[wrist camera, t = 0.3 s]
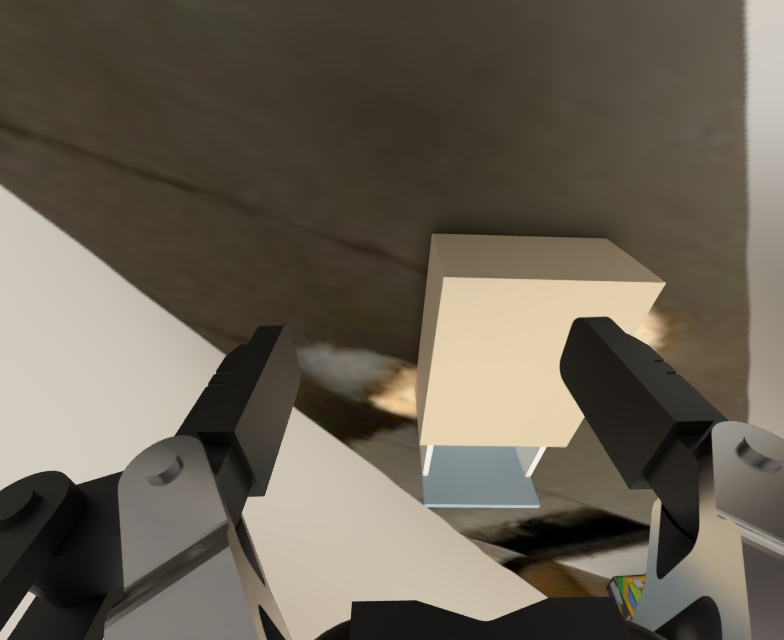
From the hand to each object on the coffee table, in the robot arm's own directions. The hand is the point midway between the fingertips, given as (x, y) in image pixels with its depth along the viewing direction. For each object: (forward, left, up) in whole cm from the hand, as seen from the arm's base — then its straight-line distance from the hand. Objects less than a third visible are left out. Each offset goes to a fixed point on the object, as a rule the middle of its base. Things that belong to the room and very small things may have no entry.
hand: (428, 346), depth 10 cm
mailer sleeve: (+13, +9, -18) cm, 24 cm away
